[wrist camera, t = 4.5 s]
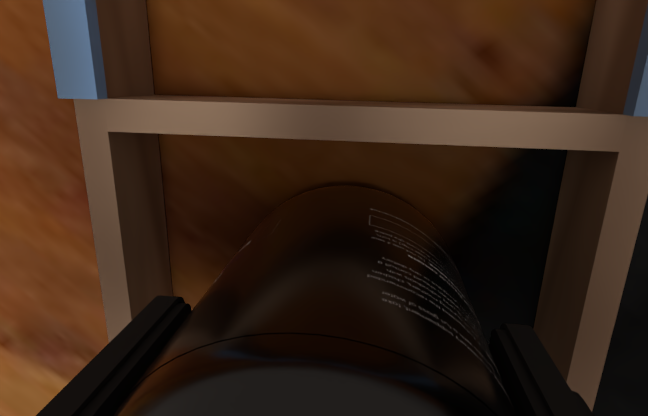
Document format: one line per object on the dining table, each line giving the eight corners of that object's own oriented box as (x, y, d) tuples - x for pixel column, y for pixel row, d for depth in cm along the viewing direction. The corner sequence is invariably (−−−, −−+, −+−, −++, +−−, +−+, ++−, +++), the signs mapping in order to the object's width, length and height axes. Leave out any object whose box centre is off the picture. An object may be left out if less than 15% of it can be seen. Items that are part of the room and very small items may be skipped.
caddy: (735, -470, 8) (916, -744, 5) (537, 449, 15) (574, 533, 12) (71, -403, 10) (-51, -594, 7) (160, 407, 16) (116, 474, 14)
